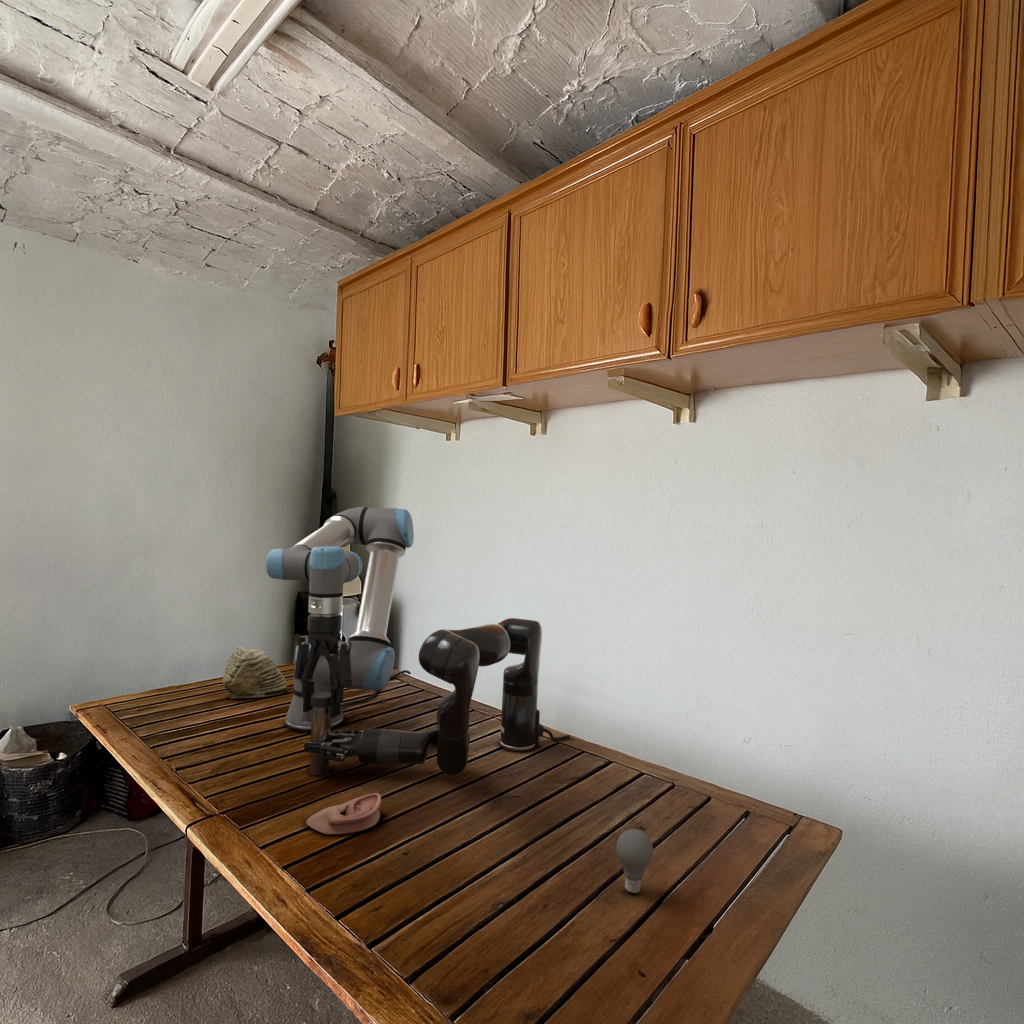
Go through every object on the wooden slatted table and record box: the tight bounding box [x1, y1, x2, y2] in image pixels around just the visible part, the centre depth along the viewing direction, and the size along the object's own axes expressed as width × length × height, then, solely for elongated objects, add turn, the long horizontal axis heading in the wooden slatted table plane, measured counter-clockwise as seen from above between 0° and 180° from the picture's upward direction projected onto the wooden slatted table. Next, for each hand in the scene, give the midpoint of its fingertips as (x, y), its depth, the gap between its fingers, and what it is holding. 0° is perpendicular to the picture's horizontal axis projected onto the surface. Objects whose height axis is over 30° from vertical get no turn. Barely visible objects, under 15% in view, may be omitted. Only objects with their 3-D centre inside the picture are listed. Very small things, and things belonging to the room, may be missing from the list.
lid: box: [310, 692, 331, 708], centre depth 146 cm, size 5×5×2 cm
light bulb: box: [615, 828, 654, 894], centre depth 106 cm, size 6×6×10 cm
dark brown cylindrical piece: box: [309, 706, 332, 776], centre depth 146 cm, size 4×4×17 cm
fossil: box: [222, 646, 288, 699], centre depth 198 cm, size 9×18×15 cm, turn 132°
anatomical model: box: [305, 792, 382, 835], centre depth 124 cm, size 13×4×12 cm
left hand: (321, 713), depth 146 cm, fingers open, 7 cm apart
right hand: (308, 742), depth 146 cm, fingers closed on dark brown cylindrical piece, 4 cm apart
